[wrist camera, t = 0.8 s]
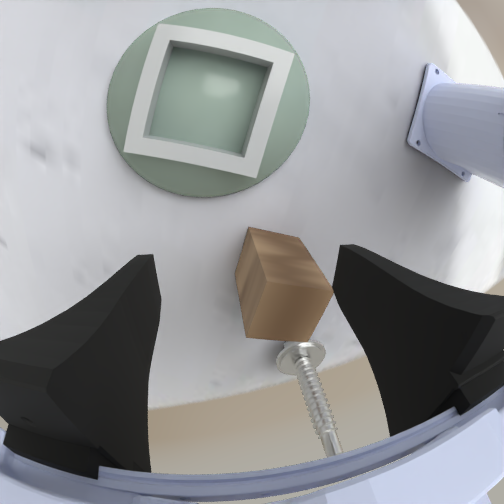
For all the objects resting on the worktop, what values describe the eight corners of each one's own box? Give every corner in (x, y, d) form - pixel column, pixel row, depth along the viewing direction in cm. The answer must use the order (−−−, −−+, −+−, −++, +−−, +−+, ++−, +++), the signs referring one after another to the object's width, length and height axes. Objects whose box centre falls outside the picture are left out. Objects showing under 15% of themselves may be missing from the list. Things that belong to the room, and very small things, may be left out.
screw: (317, 320, 26) (319, 351, 28) (268, 334, 25) (276, 364, 28) (371, 439, 14) (363, 457, 16) (303, 462, 14) (306, 475, 16)
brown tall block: (299, 237, 21) (334, 291, 15) (282, 281, 23) (307, 342, 17) (248, 226, 20) (267, 281, 14) (234, 273, 22) (246, 337, 16)
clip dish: (327, 44, 14) (342, 37, 12) (274, 212, 20) (282, 225, 18) (141, 1, 11) (133, -12, 9) (95, 177, 17) (82, 186, 14)
